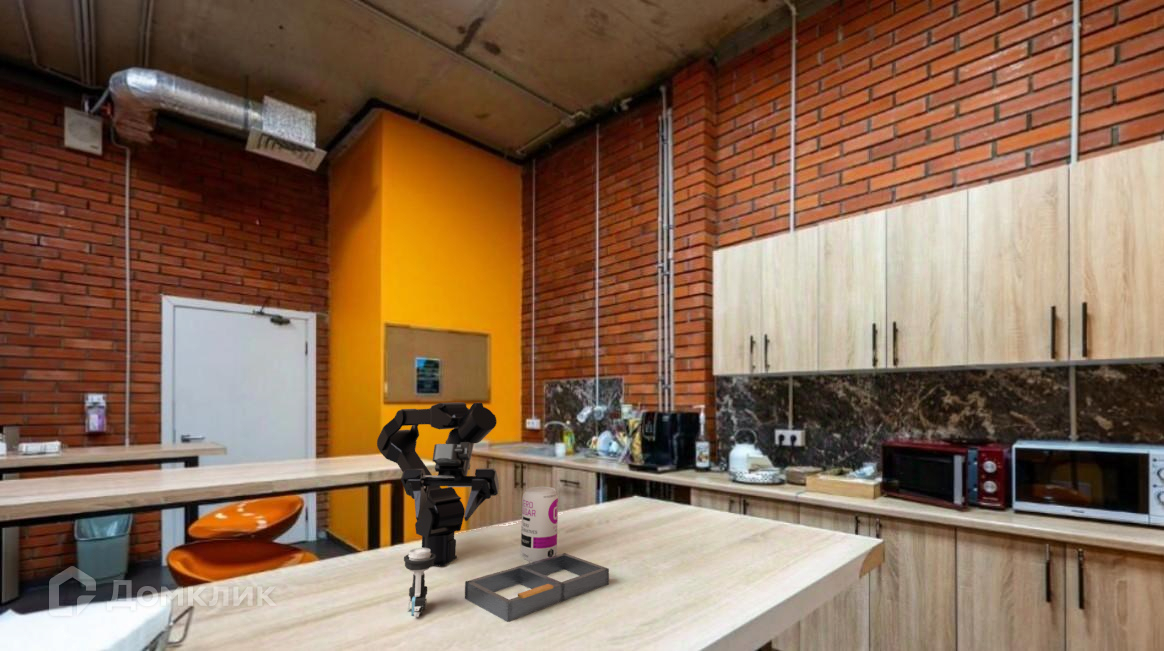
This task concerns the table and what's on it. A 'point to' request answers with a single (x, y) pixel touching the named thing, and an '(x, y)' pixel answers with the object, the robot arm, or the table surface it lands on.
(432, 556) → the push button
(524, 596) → the grey divided tray
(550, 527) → the supplement can
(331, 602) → the table surface
